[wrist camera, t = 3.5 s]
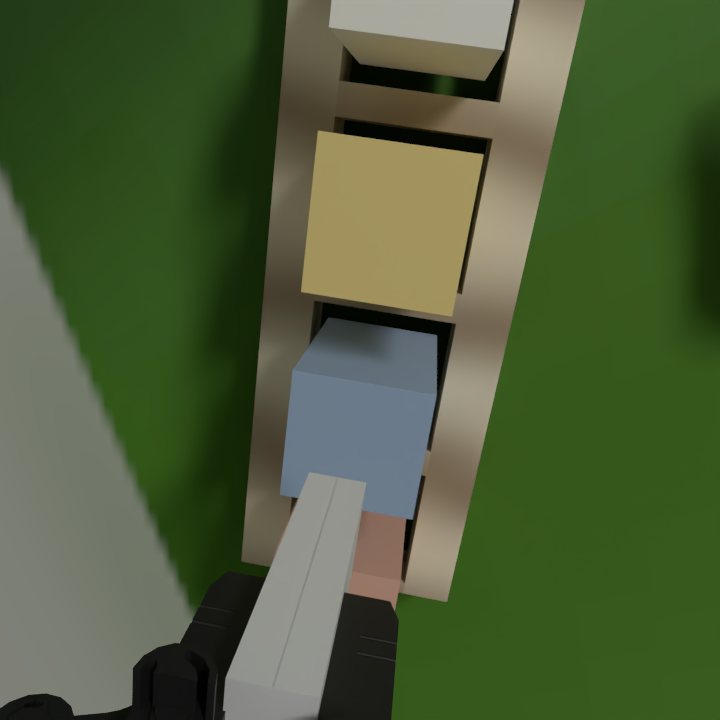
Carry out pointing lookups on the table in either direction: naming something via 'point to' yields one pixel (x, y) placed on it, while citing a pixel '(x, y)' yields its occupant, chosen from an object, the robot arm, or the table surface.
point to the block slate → (363, 412)
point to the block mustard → (389, 222)
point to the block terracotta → (376, 556)
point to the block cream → (424, 34)
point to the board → (469, 320)
